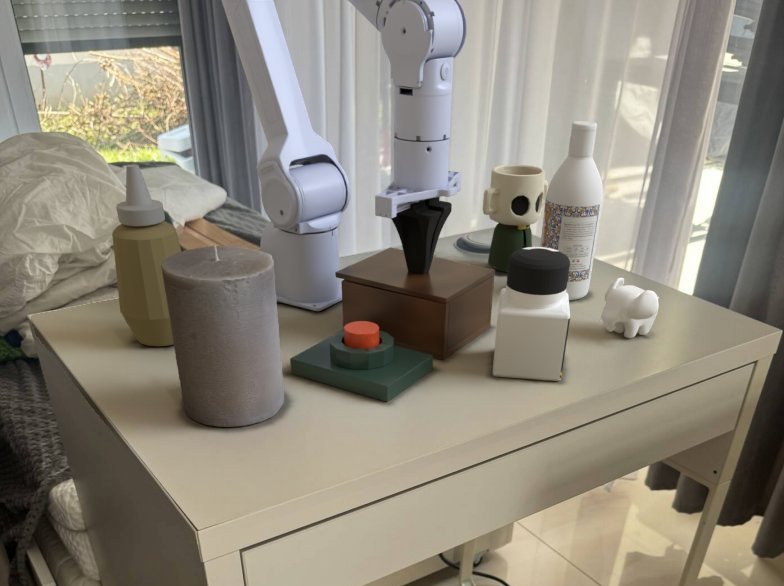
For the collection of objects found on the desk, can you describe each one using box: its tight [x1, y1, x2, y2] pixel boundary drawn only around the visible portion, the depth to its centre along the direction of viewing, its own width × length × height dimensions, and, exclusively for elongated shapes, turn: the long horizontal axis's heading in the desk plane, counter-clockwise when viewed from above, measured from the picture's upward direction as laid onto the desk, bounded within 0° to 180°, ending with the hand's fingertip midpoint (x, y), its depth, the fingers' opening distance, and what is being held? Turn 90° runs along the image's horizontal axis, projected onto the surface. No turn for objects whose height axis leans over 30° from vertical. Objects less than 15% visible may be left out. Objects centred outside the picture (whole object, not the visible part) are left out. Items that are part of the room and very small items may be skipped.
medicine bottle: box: [492, 246, 571, 382], centre depth 80 cm, size 7×7×12 cm
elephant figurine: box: [598, 277, 660, 339], centre depth 89 cm, size 7×8×6 cm
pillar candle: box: [161, 244, 285, 428], centre depth 70 cm, size 10×10×15 cm
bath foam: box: [539, 120, 604, 301], centre depth 96 cm, size 7×7×20 cm
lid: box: [335, 246, 496, 304], centre depth 87 cm, size 14×11×1 cm
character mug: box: [482, 164, 549, 273], centre depth 106 cm, size 11×7×13 cm, turn 123°
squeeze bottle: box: [112, 163, 183, 347], centre depth 82 cm, size 8×8×18 cm
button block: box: [289, 330, 434, 403], centre depth 80 cm, size 12×9×4 cm
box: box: [340, 275, 495, 361], centre depth 89 cm, size 13×11×6 cm
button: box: [344, 321, 379, 349], centre depth 79 cm, size 4×4×2 cm
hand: (418, 271), depth 87 cm, fingers closed, pressing on lid
